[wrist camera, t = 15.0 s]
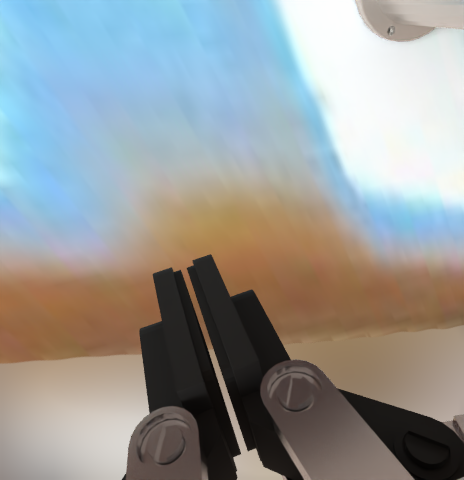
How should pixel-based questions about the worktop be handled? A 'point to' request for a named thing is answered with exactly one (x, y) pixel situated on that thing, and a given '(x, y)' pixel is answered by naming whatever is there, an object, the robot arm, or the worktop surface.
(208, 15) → the worktop surface
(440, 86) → the worktop surface
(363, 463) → the robot arm
